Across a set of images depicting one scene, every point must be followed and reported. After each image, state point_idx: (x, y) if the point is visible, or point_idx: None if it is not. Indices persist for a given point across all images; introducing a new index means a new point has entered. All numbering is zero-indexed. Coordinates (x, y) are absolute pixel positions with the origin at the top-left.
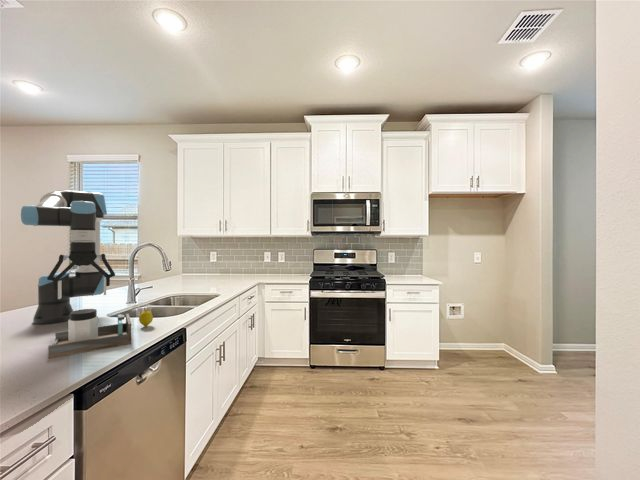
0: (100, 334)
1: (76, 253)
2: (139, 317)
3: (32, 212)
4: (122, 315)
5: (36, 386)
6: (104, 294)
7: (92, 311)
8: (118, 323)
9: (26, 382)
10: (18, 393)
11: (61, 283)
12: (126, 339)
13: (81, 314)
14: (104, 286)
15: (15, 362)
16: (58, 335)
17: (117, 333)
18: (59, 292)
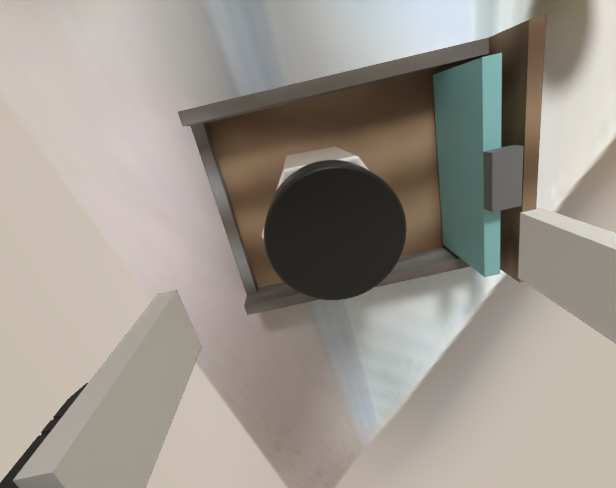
0: (361, 96)
1: None
2: None
3: None
4: (514, 164)
5: (304, 441)
6: (528, 279)
7: (390, 264)
8: (478, 234)
9: (275, 420)
10: (284, 457)
11: (93, 421)
12: None
13: (341, 298)
14: (606, 329)
15: None
16: (198, 123)
17: (431, 110)
18: (173, 397)
